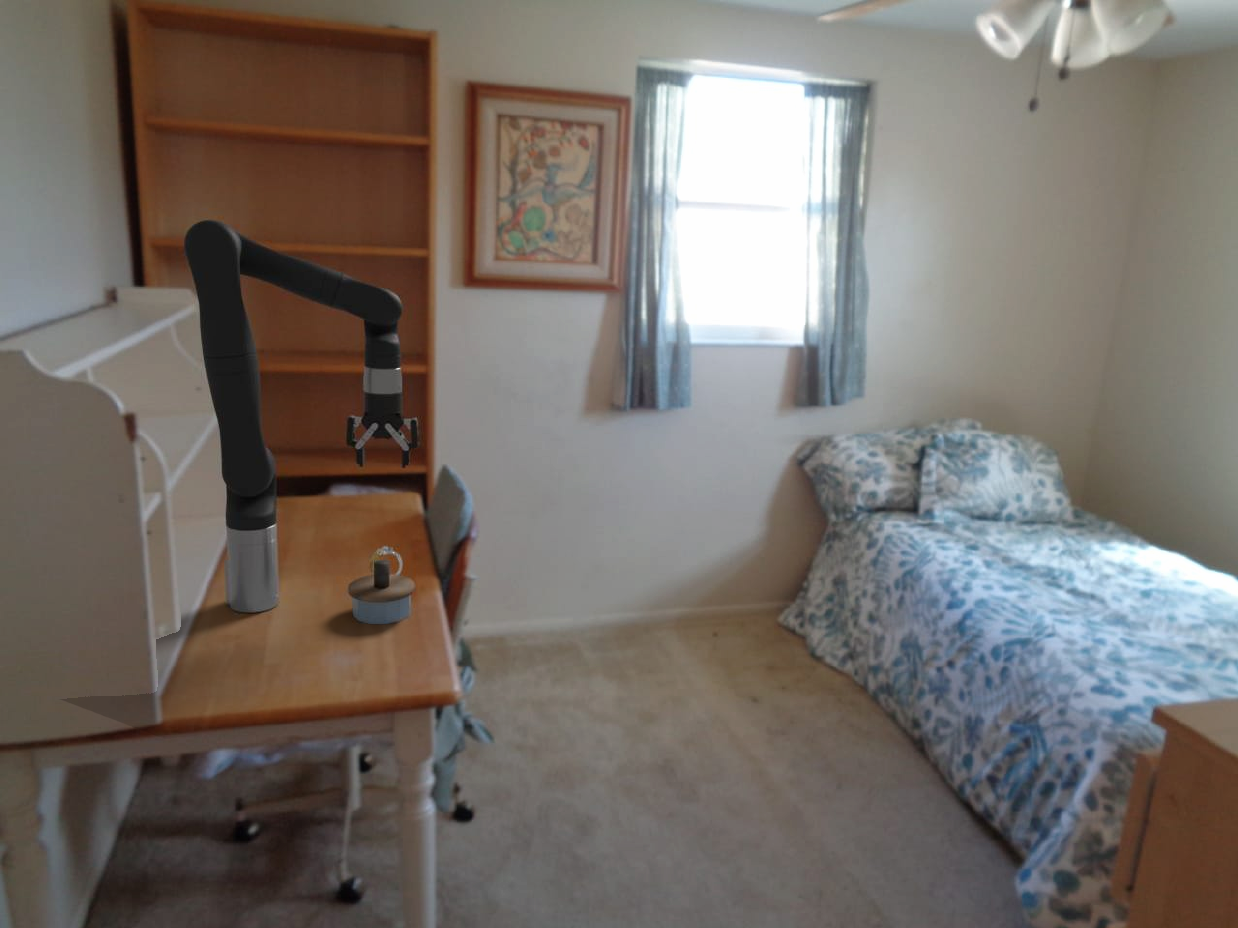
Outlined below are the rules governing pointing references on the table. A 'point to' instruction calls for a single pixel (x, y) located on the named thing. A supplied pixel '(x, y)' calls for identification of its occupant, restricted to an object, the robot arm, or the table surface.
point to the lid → (381, 585)
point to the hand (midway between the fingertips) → (383, 466)
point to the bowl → (381, 611)
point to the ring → (382, 552)
